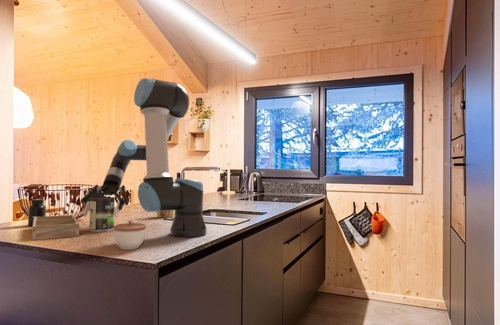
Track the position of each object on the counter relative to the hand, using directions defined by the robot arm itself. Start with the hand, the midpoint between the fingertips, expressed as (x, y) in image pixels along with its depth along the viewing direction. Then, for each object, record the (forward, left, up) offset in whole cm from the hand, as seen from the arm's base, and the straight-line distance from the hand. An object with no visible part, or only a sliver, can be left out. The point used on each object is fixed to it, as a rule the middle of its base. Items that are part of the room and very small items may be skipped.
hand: (99, 215), depth 156 cm
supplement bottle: (+25, +24, -7) cm, 35 cm away
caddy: (+4, +17, -7) cm, 19 cm away
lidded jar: (-37, -5, -7) cm, 38 cm away
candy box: (+27, -37, -7) cm, 46 cm away
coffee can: (+2, -1, -7) cm, 7 cm away
